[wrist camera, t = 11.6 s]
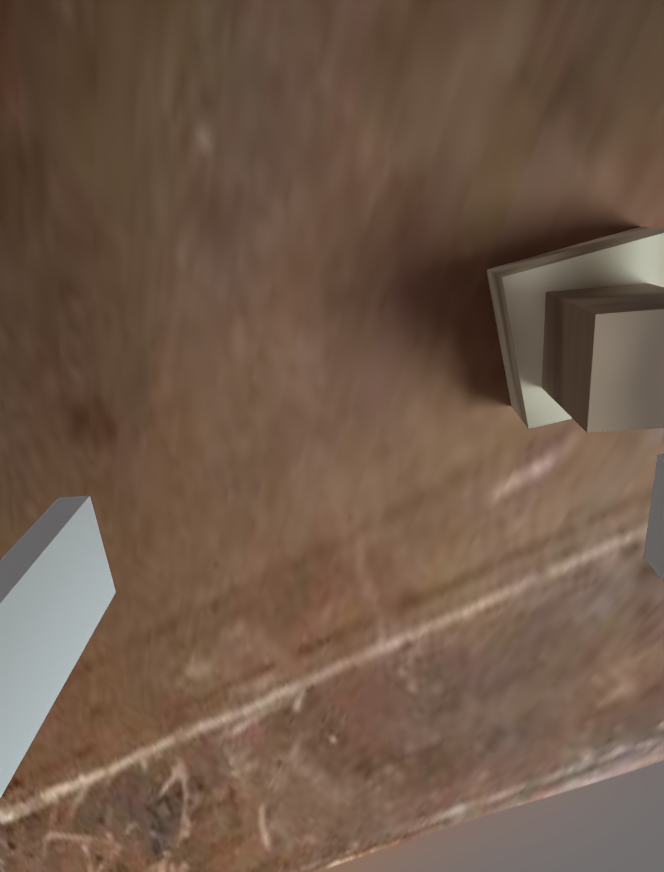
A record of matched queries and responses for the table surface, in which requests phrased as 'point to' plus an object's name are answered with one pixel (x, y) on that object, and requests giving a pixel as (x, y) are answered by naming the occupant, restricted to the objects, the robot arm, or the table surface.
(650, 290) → the walnut block
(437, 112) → the table surface
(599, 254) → the pale square block
